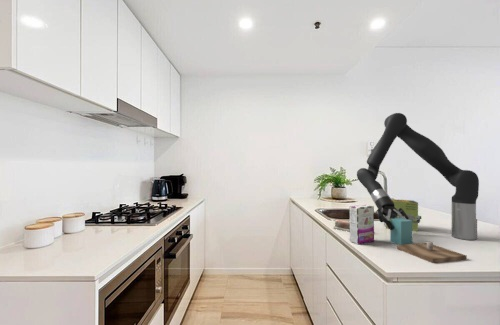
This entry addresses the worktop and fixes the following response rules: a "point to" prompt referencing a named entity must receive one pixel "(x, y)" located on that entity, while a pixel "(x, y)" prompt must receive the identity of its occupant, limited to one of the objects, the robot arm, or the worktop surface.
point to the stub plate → (431, 252)
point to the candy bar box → (361, 224)
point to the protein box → (407, 210)
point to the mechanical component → (414, 218)
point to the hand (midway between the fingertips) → (400, 228)
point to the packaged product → (342, 225)
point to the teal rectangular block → (401, 231)
